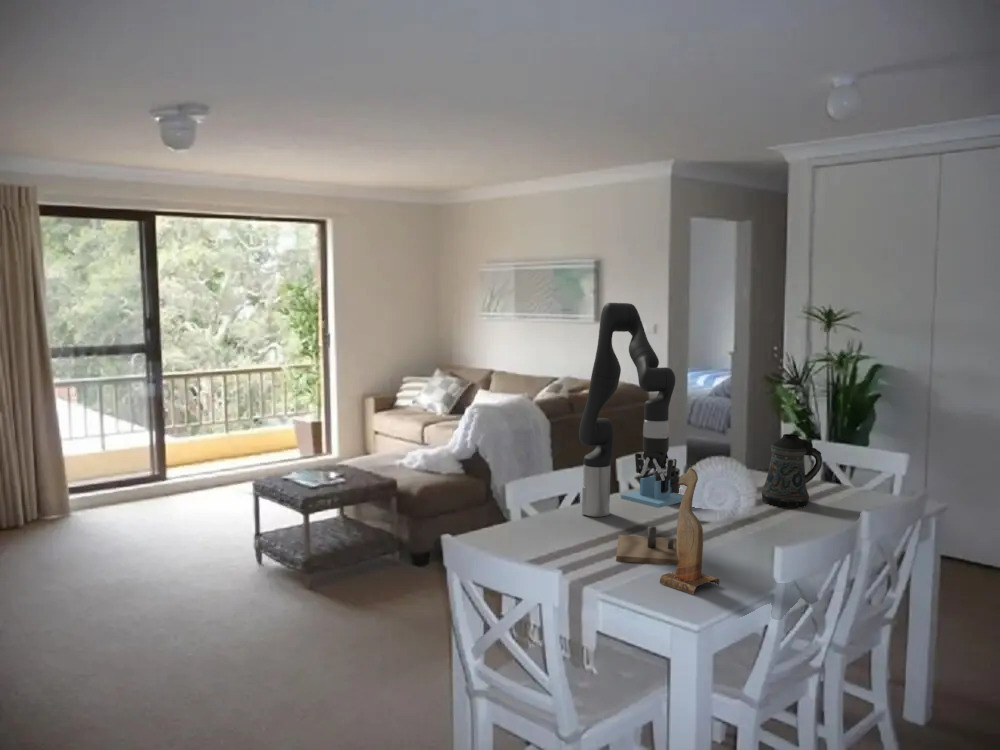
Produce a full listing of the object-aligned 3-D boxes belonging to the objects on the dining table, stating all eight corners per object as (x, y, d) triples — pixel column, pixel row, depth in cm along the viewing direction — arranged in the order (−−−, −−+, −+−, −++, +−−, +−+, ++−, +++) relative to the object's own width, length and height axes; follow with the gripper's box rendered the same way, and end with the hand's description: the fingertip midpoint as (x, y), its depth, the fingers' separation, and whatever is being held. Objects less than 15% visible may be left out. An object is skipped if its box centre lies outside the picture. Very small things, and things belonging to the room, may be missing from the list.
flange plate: (658, 508, 236) (658, 486, 235) (621, 498, 247) (621, 478, 246) (688, 500, 245) (688, 479, 245) (651, 491, 256) (651, 471, 255)
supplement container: (680, 498, 307) (681, 466, 306) (680, 505, 297) (681, 472, 296) (651, 496, 310) (652, 464, 308) (650, 503, 299) (651, 471, 298)
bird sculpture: (683, 575, 227) (682, 460, 224) (720, 585, 219) (720, 466, 216) (658, 585, 220) (658, 467, 217) (696, 596, 211) (696, 473, 208)
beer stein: (751, 498, 307) (754, 432, 304) (796, 494, 313) (799, 429, 310) (779, 510, 291) (782, 440, 289) (825, 506, 297) (829, 437, 294)
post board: (616, 560, 238) (616, 535, 237) (618, 539, 257) (619, 516, 256) (687, 565, 234) (688, 539, 233) (684, 543, 253) (685, 519, 253)
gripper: (628, 433, 247) (628, 488, 249) (667, 439, 236) (666, 497, 238) (645, 430, 252) (644, 484, 253) (683, 436, 241) (682, 493, 243)
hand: (654, 490), depth 246 cm, fingers closed on flange plate, 6 cm apart
